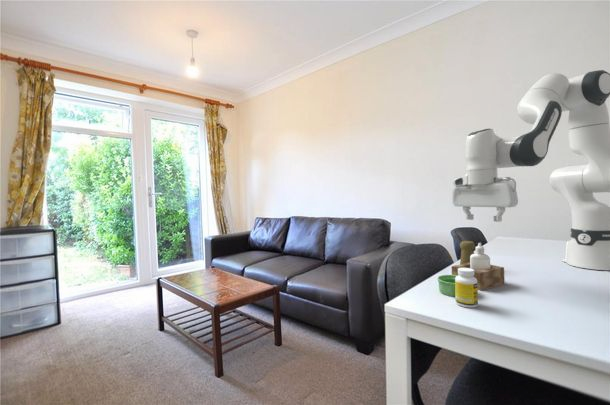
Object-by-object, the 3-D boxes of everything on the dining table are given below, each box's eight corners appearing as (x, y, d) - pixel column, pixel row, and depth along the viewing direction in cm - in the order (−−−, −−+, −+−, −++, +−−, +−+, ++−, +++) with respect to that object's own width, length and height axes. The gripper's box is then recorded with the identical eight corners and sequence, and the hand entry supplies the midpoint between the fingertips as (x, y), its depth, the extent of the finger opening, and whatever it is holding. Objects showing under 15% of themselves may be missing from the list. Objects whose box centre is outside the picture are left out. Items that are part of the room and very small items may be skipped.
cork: (460, 270, 111) (459, 242, 111) (458, 266, 117) (457, 239, 116) (478, 271, 109) (477, 242, 109) (475, 267, 115) (474, 240, 114)
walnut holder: (475, 276, 103) (475, 261, 103) (504, 284, 94) (504, 267, 93) (452, 282, 98) (451, 266, 98) (480, 290, 89) (479, 273, 89)
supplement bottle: (478, 309, 75) (476, 272, 75) (454, 306, 78) (453, 270, 78) (478, 302, 80) (477, 267, 79) (456, 299, 83) (455, 266, 82)
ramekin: (466, 300, 82) (465, 285, 82) (433, 294, 88) (433, 279, 88) (473, 291, 88) (473, 277, 88) (443, 286, 95) (442, 273, 94)
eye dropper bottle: (487, 282, 92) (487, 245, 91) (468, 278, 96) (467, 243, 95) (492, 278, 94) (491, 242, 93) (473, 274, 99) (472, 240, 98)
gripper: (521, 176, 86) (523, 221, 87) (460, 180, 105) (462, 217, 105) (508, 176, 84) (510, 223, 84) (448, 181, 102) (450, 219, 103)
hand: (483, 220), depth 95 cm, fingers open, 8 cm apart
